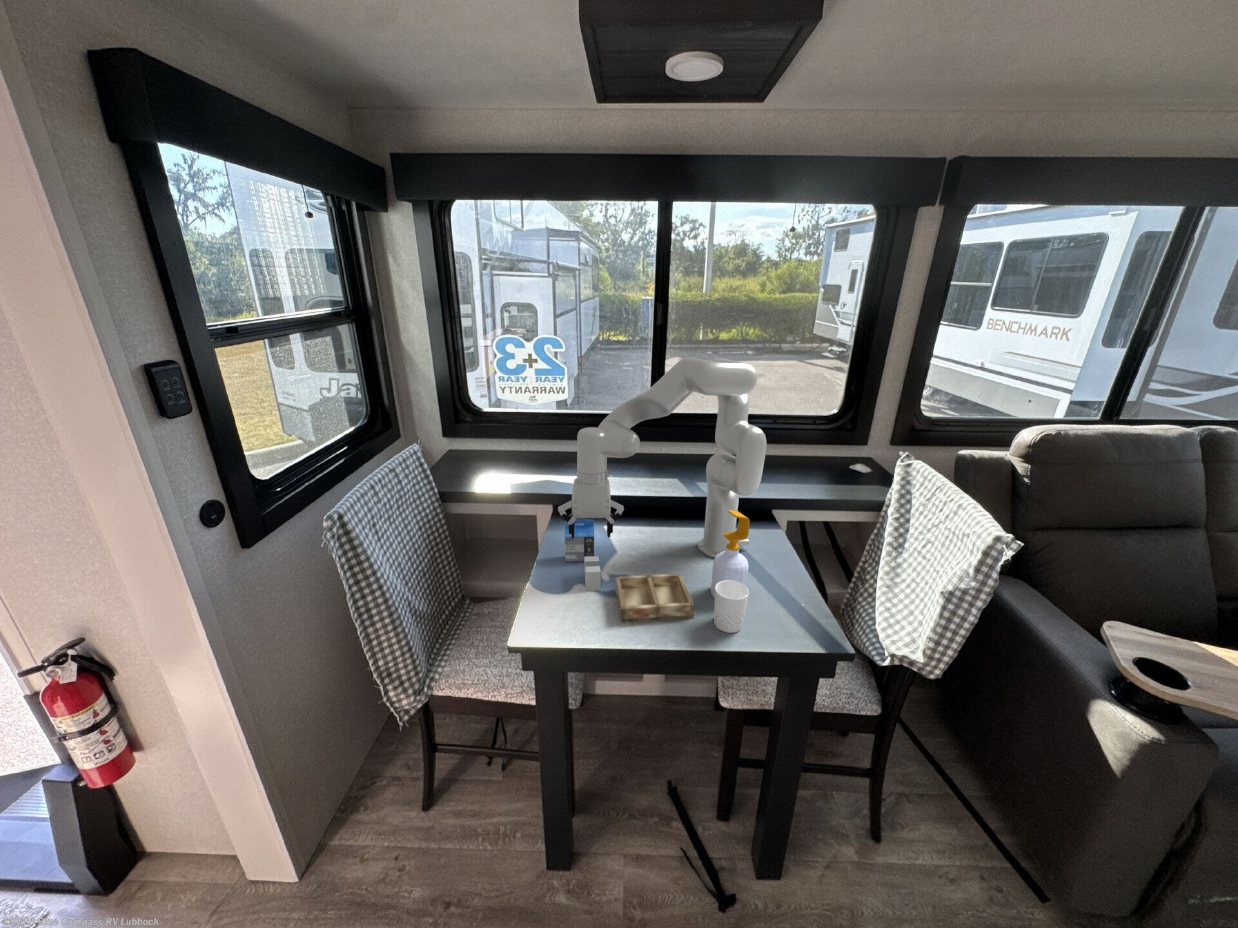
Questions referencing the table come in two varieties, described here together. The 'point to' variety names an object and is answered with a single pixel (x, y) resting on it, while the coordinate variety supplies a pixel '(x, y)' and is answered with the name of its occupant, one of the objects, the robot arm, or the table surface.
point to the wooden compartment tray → (653, 598)
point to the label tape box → (579, 541)
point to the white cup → (730, 605)
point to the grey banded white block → (592, 573)
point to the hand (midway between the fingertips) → (590, 535)
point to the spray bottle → (732, 556)
